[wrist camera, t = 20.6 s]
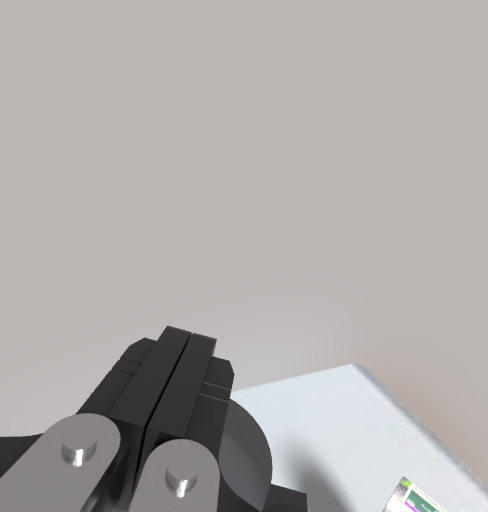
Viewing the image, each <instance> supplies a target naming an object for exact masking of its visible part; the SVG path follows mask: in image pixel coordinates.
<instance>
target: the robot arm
mask: <svg viewBox="0 0 488 512" xmlns="http://www.w3.org/2000/svg"><path fill="white" fill-rule="evenodd" d="M216 341H217V339H214V338H211V337H207V336H203V335H200V334H196V333H193V334H192V333H191V332H189V331H185V330H182V329H178V328H174V327H171V326H167V327H166V328H165V330H164V331H163V333H162V334H161V336H160V337H159V339H158V341H155V340H151V339H147V338H143V339H141V340H139V341H137V342H136V343H134V344H132V345H130V346H129V347H128V349H127V350H126V351H125V352H124V354H123V355H122V356H121V358H120V360H118V361H117V362H116V364H115V365H114V366H113V368H112V370H111V371H109V373H108V374H107V375H106V377H105V378H104V379H103V380H102V381H101V383H100V384H99V385H98V387H97V388H96V389H95V391H94V392H93V393H92V394H91V395H90V397H89V398H88V399H87V401H86V402H85V403H84V404H83V406H82V407H81V408H80V409H79V411H78V412H77V413H76V414H75V415H73V416H69V417H67V418H64V419H62V420H60V421H58V422H57V423H55V424H54V425H52V426H51V427H50V428H49V429H48V430H47V431H46V432H45V433H42V434H38V435H32V436H22V437H0V512H114V510H115V508H118V509H122V510H125V511H128V509H129V507H130V509H129V512H261V511H259V510H258V509H256V508H255V507H253V506H252V505H251V504H249V503H248V502H246V501H245V500H243V499H242V498H240V497H239V496H238V495H237V494H236V493H235V492H234V491H233V490H232V489H231V488H230V487H229V486H228V484H227V483H226V481H225V479H224V478H223V476H222V473H221V470H220V466H219V450H220V445H221V440H222V435H223V430H224V425H225V420H226V415H227V410H228V405H229V399H230V394H231V389H232V384H233V379H234V372H233V369H232V366H231V364H230V361H228V360H224V359H220V358H216V357H213V353H214V350H215V345H216ZM131 502H132V503H131ZM130 504H131V506H130ZM262 512H306V511H305V510H303V509H301V508H300V507H297V506H295V505H292V504H287V503H278V504H273V505H271V506H268V507H267V508H265V509H264V510H263V511H262Z"/></svg>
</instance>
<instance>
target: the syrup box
mask: <svg viewBox="0 0 488 512" xmlns="http://www.w3.org/2000/svg"><path fill="white" fill-rule="evenodd" d="M383 512H447V511H446V510H445V509H443V508H442V507H441V506H440V505H438V504H437V503H436V502H435V501H434V500H432V499H431V498H430V497H429V496H427V495H426V494H425V493H424V492H422V491H421V490H420V489H419V488H417V487H416V486H415V485H414V484H412V483H411V482H410V481H409V480H407V479H406V478H405V477H402V479H401V480H400V482H399V484H398V486H397V487H396V489H395V491H394V492H393V494H392V496H391V498H390V499H389V501H388V503H387V505H386V506H385V508H384V510H383Z"/></svg>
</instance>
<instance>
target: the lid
mask: <svg viewBox="0 0 488 512" xmlns="http://www.w3.org/2000/svg"><path fill="white" fill-rule="evenodd" d="M219 466H220V470H221V473H222V476H223V478H224V479H225V481H226V483H227V484H228V486H229V487H230V488H231V489H232V490H233V491H234V492H235V493H236V494H237V495H238V496H239V497H240V498H242V499H243V500H245V501H246V502H248V503H249V504H251V505H252V506H253V507H255V508H256V509H258V510H259V511H261V509H262V507H263V504H264V502H265V499H266V497H267V494H268V491H269V488H270V484H271V479H272V457H271V452H270V448H269V445H268V442H267V439H266V437H265V435H264V433H263V431H262V429H261V428H260V426H259V425H258V423H257V422H256V421H255V419H254V418H253V417H252V416H251V415H250V414H249V413H248V412H247V411H246V410H245V409H244V408H243V407H241V406H240V405H239V404H238V403H236V402H235V401H233V400H232V399H229V405H228V410H227V415H226V420H225V425H224V430H223V435H222V440H221V445H220V450H219ZM131 503H132V502H131ZM130 506H131V504H130ZM129 509H130V507H129ZM129 509H128V511H125V510H122V509H118V508H115V510H114V512H129Z"/></svg>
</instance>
